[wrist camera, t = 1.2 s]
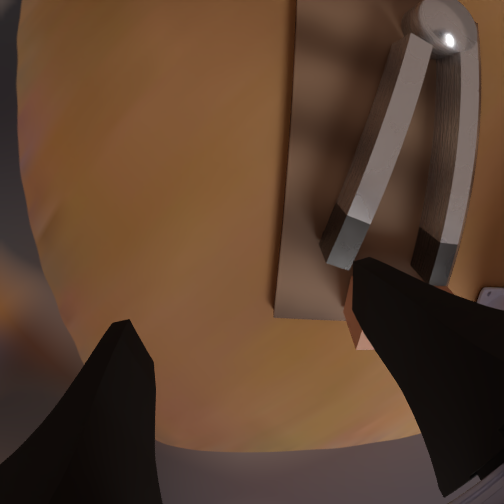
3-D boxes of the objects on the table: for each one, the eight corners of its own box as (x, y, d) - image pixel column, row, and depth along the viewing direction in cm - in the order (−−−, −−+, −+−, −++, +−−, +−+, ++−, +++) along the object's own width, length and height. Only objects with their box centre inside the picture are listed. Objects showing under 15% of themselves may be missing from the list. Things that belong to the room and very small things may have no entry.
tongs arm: (391, 44, 14) (411, 32, 12) (411, 54, 15) (432, 45, 12) (318, 244, 20) (326, 263, 17) (338, 251, 20) (348, 270, 17)
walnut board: (297, -24, 14) (298, -30, 13) (471, 26, 14) (477, 23, 13) (273, 310, 24) (273, 317, 23) (430, 314, 23) (435, 321, 22)
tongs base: (399, 2, 13) (421, -16, 10) (450, 21, 13) (476, 8, 10) (377, 262, 21) (394, 287, 17) (426, 266, 20) (448, 289, 17)
